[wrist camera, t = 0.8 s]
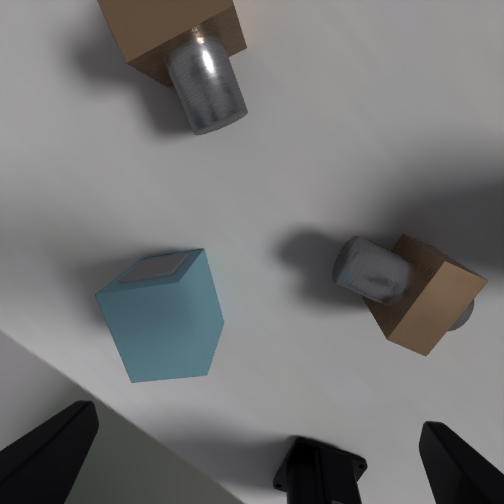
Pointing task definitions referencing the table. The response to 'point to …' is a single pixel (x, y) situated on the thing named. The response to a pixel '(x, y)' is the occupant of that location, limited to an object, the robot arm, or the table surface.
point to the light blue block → (164, 316)
